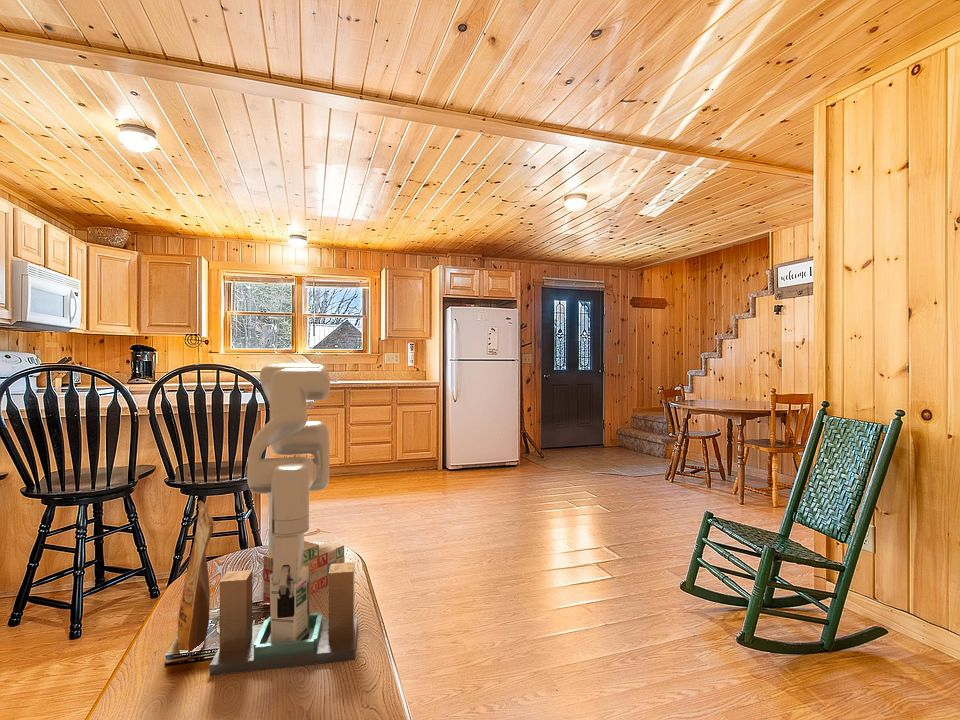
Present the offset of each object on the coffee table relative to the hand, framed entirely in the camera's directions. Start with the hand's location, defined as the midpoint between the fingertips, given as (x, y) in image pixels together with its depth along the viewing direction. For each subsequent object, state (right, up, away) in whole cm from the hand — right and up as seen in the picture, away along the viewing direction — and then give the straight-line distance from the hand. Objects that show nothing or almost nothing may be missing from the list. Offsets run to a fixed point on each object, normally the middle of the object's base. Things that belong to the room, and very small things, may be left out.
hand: (290, 605), depth 107 cm
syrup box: (0, -7, 0) cm, 7 cm away
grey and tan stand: (0, -9, 0) cm, 9 cm away
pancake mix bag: (-22, -9, +3) cm, 24 cm away
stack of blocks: (-6, -9, +26) cm, 29 cm away
